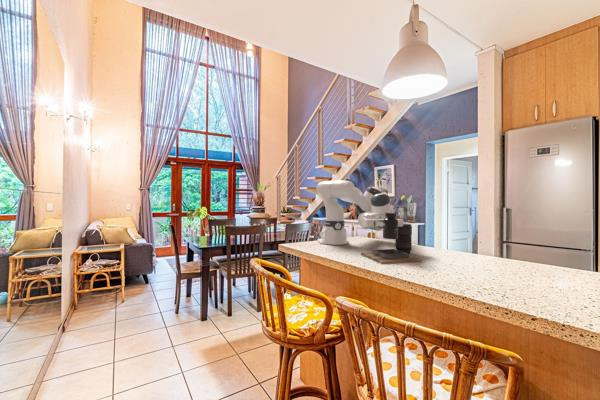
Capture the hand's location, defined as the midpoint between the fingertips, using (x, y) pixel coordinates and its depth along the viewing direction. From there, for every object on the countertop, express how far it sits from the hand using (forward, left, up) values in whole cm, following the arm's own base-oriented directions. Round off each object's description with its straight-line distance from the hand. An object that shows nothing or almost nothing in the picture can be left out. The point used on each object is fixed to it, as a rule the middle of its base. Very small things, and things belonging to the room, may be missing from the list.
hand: (391, 224), depth 132 cm
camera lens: (-11, +14, -16) cm, 24 cm away
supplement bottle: (-1, 0, -7) cm, 7 cm away
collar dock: (-1, 0, -16) cm, 16 cm away
